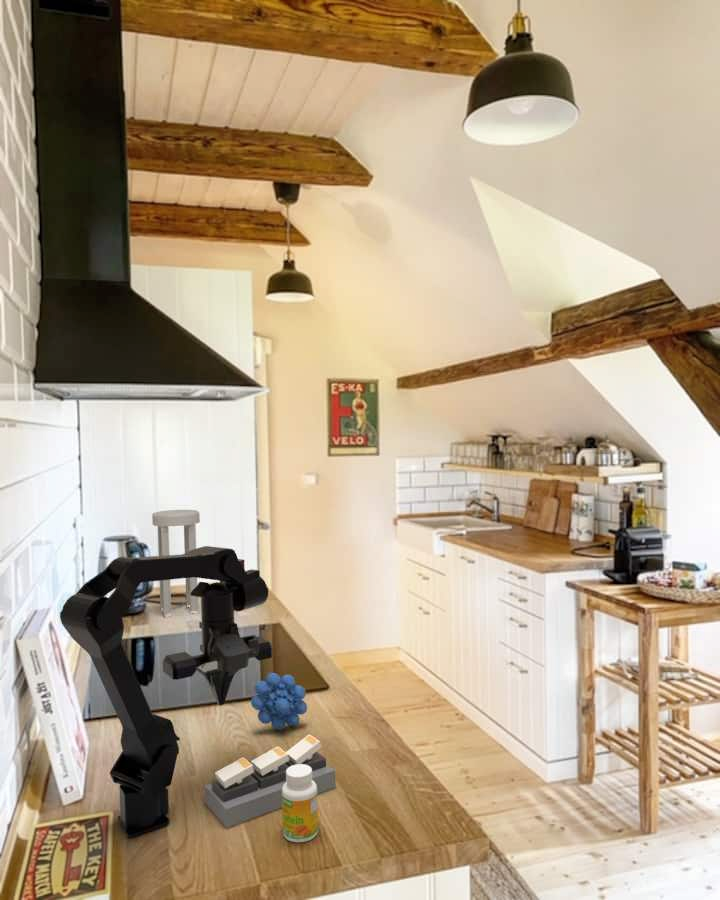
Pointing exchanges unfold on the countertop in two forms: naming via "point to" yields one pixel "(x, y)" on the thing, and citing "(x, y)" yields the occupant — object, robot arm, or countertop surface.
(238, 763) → the block
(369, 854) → the countertop surface
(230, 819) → the rocker switch strip
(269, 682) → the grapes
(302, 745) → the far rocker
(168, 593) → the stool
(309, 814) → the supplement bottle
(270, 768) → the middle rocker
